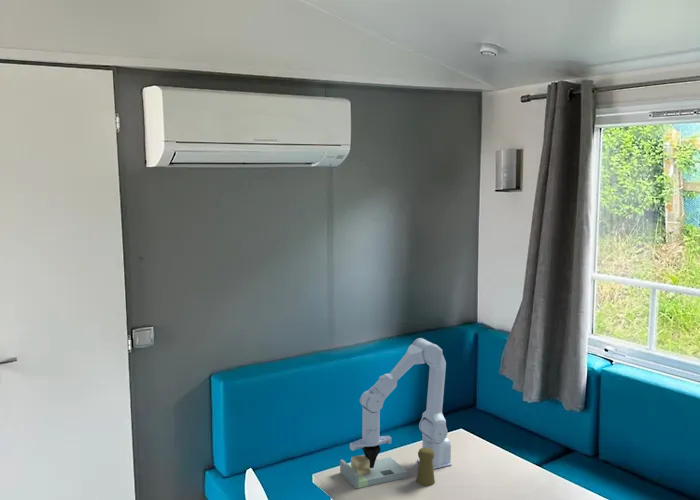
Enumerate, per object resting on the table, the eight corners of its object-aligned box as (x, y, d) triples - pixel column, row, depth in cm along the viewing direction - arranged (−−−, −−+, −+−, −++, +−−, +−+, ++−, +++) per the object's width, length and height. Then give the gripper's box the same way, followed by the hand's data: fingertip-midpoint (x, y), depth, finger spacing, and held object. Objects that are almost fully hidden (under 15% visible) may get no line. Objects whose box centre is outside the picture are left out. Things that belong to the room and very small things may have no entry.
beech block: (363, 467, 207) (363, 454, 206) (369, 473, 202) (369, 460, 202) (351, 470, 205) (351, 457, 204) (356, 476, 200) (357, 462, 200)
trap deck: (389, 462, 215) (390, 449, 215) (407, 477, 204) (407, 464, 204) (340, 472, 207) (340, 460, 207) (355, 488, 196) (355, 475, 196)
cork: (434, 486, 198) (434, 454, 197) (415, 484, 199) (415, 452, 198) (435, 478, 204) (436, 446, 203) (417, 476, 205) (417, 444, 204)
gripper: (384, 419, 210) (384, 458, 212) (346, 426, 204) (345, 465, 206) (394, 427, 204) (394, 466, 205) (355, 434, 198) (354, 475, 199)
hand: (370, 466), depth 205 cm, fingers closed
